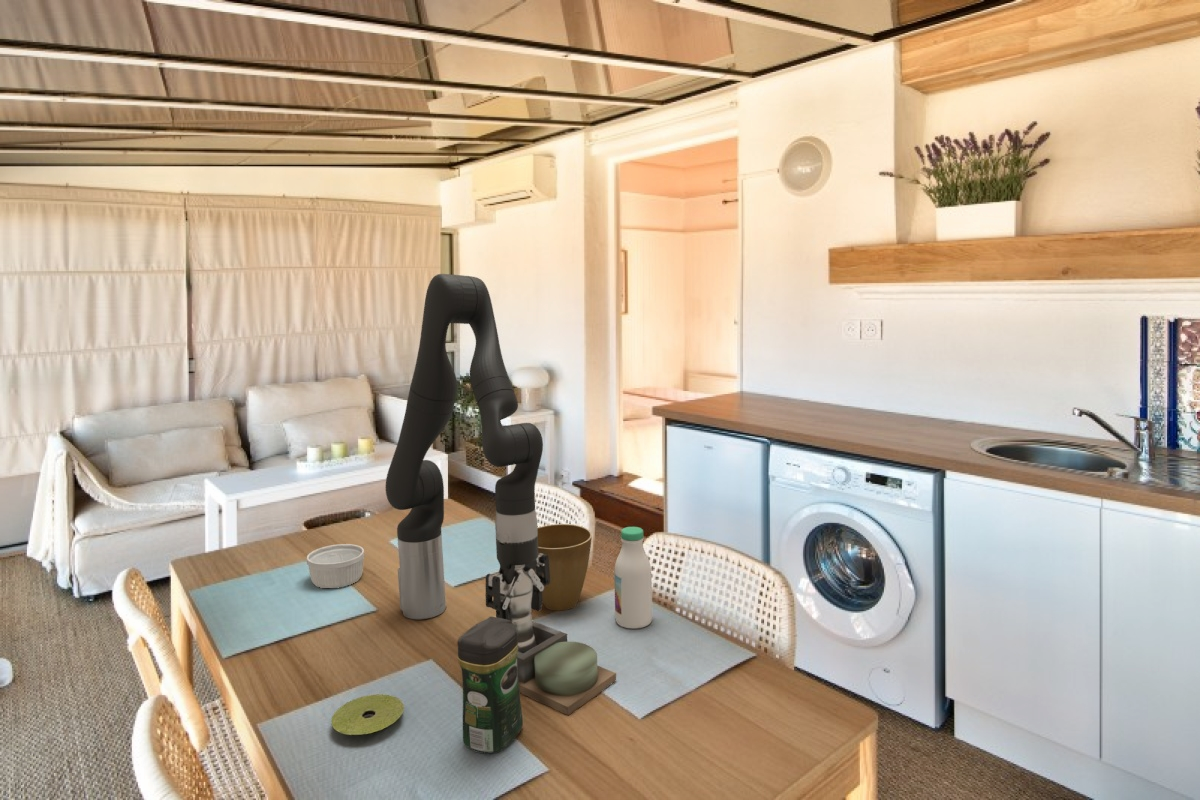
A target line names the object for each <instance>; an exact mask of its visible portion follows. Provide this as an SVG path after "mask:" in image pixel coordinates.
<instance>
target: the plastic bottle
mask: <svg viewBox="0 0 1200 800" xmlns="http://www.w3.org/2000/svg"><path fill="white" fill-rule="evenodd" d="M524 567H525V565H517V566H515V570H517V572H520V573H523V578H522V579H521V580H520V581H519V582H516V584H515V587H514V591H513V595H514V597H513V598H511V599H510V602H509V604H508V607H507V608H508V612H509V620H510V621H511V622H512V623H513V624H514V625H515V627H516V631H517V637H518V652H521V653H525V652H527V651H528V650H530V649H532V648H534V647H535V646H536V640H535V636H534V634H533V626H532V621H533V620H532V608H531V602H532V592H533V582H532V579H531V578H530V577H529V575H528V574H527V573H526V572H525V571H524V570H523V568H524ZM514 578H515V577H514ZM513 582H514V579H513V581H512V583H511V584H507V583H506V582H505V581H504V582H502V581H501V583H502V585H501V586H500V590H501V591H509V590H510V588H511V586H512V584H513ZM501 597H502V600H501V601H502V602H503V600H504V597H505V595H504V594H501Z"/></svg>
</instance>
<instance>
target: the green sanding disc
mask: <svg viewBox="0 0 1200 800" xmlns="http://www.w3.org/2000/svg"><path fill="white" fill-rule="evenodd" d="M404 711H405V707H404V703H403V701H402V700H401V699H400V698H398V697H396V696H393V695H390V694H378V693H377V694H368V695H363V696H359V697H357V698H355V699H352V700H350V701H348V702H346V703H344V704H343V705H341V706H340V707H339V708H338V709H336V711H335V712H334V713H333V715H332V716H331V719H330V720H331V721H330V722H331V726H332V727H333V729H334V730H335V731H337V732H338V733H340V734H343V735H348V736H349V735H350V736H352V735H354V736H357V735H358V736H359V735H367V734H372V733H374V732H378V731H382V730H384V729H385V728H388V727H389V726H391V725H393V724H394V723H395V722H397V720H398V719H400V717H401V716H402V715H403V713H404Z"/></svg>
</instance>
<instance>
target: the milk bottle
mask: <svg viewBox="0 0 1200 800" xmlns="http://www.w3.org/2000/svg"><path fill="white" fill-rule="evenodd" d="M644 535H645V534H644V529H642V527H638V526H627V527H624V528H622V529H621V531H620V537H621V539H620V540H621V542H622V544H621V549H620V551H619V553H618V556H617V558H616V561H615V564H614V614H615V615H614V617H615V622H616V624H618V625H619V626H620V627H623V628H625V629H633V630H634V629H642V628H646V627H647V626H649V625H650V624H651V622H652V620H653V592H652V591H653V587H652V584H653V583H652V568H651V567H652V566H651V563H650V562H651V561H650V559H649V558H648V555H647V553H646V551H645V548H644V543H643V541H644Z"/></svg>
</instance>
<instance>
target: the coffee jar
mask: <svg viewBox="0 0 1200 800" xmlns="http://www.w3.org/2000/svg"><path fill="white" fill-rule="evenodd" d="M517 653H518V637H517V631H516V627H515V625H514V624H513V623H512V622H511V621H510V620H507V619H502V618H497V617H496V616H488V618H486V619H484V620H482V621H479V622H478V623H476V624H475V625H473V626H472V627H470V628H469V629H468V630H467V631H465V632H464V633H463V634H462V635H460V637H459V638H458V639H457V660H458V664H459V667H460V669H461V679H462V741H463V744H464V745H465V746H466V748H468V749H469V750H471V751H474V752H476V753H479V754H497V753H500V752H502V751H503V750H505V749H506V748H507V747H508V746H509V745H510V744H511V743H512V742H513V741H514V740H515V739H516V738H517V736H518V735H519V734H520V733H521V730H522V728H523V725H524V724H523V723H524V722H523V721H524V720H523V710H522V704H521V703H522V702H521V695H520V694H521V693H519V683H518V672H517Z"/></svg>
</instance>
